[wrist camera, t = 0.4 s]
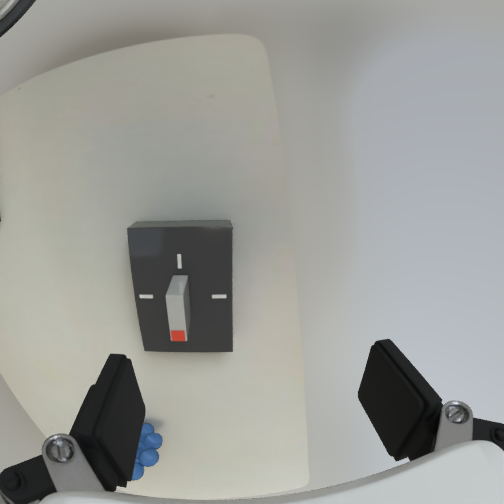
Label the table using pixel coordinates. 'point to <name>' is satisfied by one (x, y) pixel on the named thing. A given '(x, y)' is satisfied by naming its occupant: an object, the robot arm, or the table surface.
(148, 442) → the grapes
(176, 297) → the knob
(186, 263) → the lever switch base
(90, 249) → the table surface
